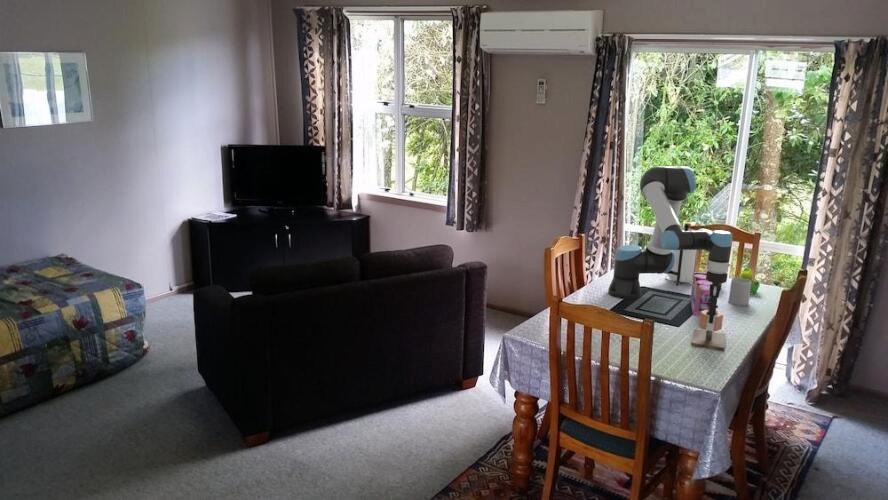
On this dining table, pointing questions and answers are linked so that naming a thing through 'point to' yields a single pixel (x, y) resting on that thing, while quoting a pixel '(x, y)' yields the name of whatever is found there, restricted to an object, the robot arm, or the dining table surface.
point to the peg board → (708, 339)
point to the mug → (740, 291)
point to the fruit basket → (748, 275)
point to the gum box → (700, 293)
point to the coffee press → (683, 264)
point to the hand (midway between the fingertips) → (710, 326)
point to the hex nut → (717, 320)
